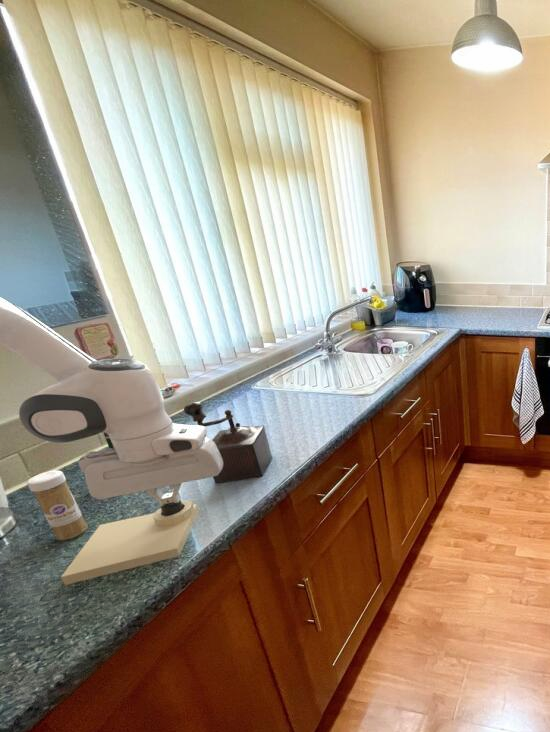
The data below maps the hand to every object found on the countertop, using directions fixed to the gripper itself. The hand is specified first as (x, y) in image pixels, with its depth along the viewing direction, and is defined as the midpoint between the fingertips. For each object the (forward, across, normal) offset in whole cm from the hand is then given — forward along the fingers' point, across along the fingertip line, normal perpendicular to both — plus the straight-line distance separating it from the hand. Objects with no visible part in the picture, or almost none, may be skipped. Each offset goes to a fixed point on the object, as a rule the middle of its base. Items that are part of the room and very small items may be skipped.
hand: (170, 502), depth 81 cm
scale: (+5, -5, -4) cm, 8 cm away
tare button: (+2, 0, 0) cm, 2 cm away
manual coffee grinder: (+5, +7, +18) cm, 20 cm away
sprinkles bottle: (+5, -18, +5) cm, 20 cm away
